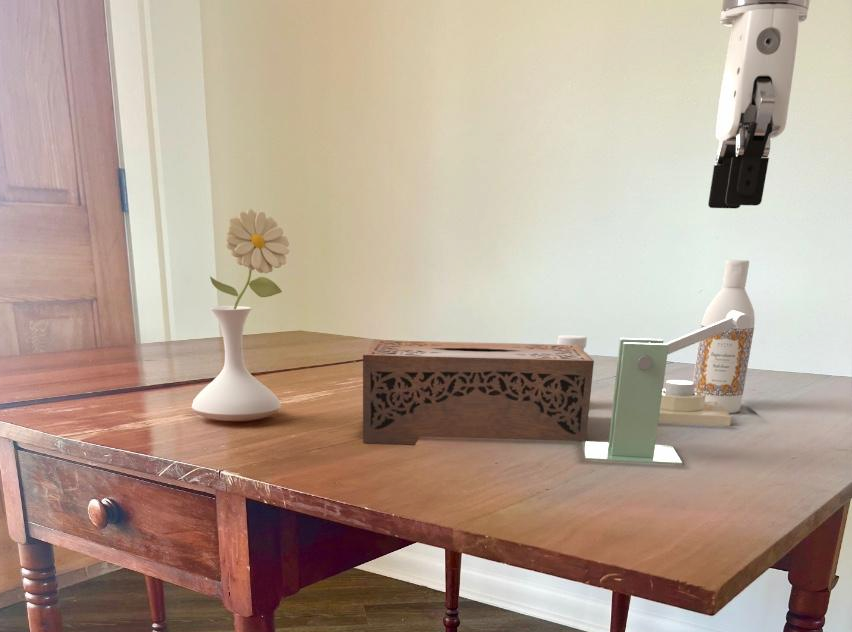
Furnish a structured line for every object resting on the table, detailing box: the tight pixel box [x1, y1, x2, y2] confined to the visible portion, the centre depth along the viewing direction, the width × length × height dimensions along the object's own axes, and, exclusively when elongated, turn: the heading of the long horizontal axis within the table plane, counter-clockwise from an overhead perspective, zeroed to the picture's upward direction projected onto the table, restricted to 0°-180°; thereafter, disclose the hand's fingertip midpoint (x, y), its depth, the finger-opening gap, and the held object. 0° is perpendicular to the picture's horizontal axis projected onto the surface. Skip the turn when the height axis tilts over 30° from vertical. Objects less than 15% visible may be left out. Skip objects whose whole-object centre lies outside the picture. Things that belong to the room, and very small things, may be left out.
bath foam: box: [692, 259, 756, 415], centre depth 120 cm, size 7×7×20 cm
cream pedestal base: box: [658, 388, 733, 427], centre depth 114 cm, size 12×10×4 cm
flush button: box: [664, 379, 695, 396], centre depth 113 cm, size 4×4×2 cm
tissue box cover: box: [362, 339, 595, 446], centre depth 105 cm, size 26×14×10 cm, turn 86°
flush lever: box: [648, 310, 751, 356], centre depth 89 cm, size 12×5×2 cm, turn 81°
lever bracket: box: [581, 337, 684, 466], centre depth 92 cm, size 10×8×13 cm
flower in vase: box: [191, 208, 290, 422], centre depth 108 cm, size 13×11×25 cm
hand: (732, 206), depth 86 cm, fingers open, 9 cm apart
